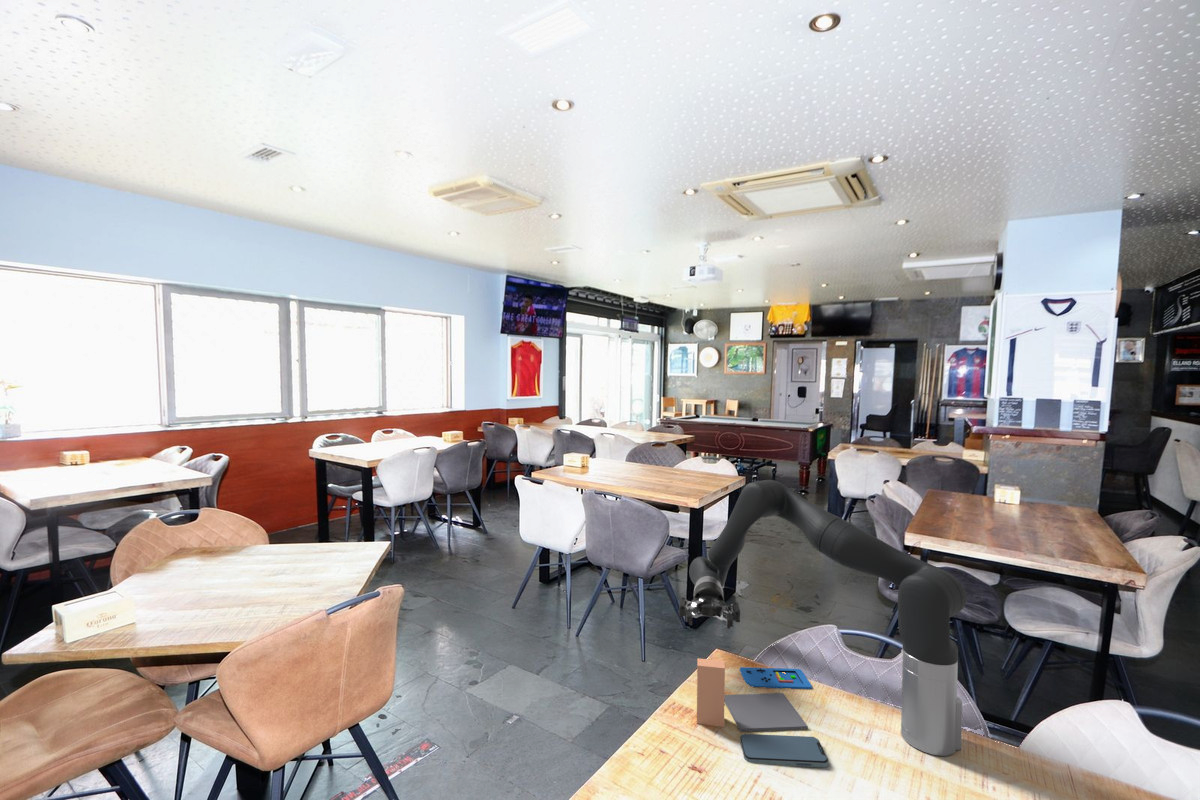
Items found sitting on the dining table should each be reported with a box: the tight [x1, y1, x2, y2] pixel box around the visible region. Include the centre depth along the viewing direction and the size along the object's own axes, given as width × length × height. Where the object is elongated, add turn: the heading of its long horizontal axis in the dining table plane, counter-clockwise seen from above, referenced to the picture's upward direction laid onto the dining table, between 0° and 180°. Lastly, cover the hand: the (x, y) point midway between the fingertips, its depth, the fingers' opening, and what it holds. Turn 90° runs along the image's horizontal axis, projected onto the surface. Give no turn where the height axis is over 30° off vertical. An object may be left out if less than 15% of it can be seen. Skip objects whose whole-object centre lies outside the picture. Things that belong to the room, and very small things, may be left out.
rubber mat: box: [724, 692, 809, 733], centre depth 113 cm, size 14×12×1 cm
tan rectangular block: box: [696, 658, 726, 727], centre depth 110 cm, size 6×3×12 cm, turn 79°
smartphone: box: [739, 733, 829, 769], centre depth 101 cm, size 8×2×15 cm
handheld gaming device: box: [739, 666, 813, 690], centre depth 127 cm, size 8×1×15 cm
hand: (709, 622), depth 121 cm, fingers open, 8 cm apart
